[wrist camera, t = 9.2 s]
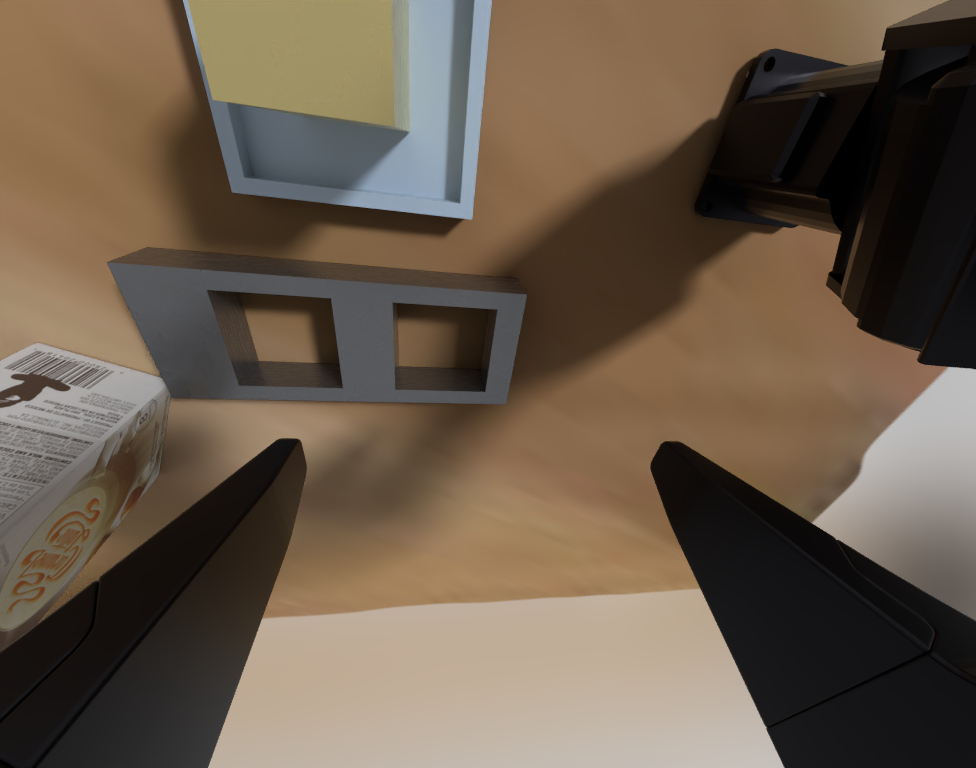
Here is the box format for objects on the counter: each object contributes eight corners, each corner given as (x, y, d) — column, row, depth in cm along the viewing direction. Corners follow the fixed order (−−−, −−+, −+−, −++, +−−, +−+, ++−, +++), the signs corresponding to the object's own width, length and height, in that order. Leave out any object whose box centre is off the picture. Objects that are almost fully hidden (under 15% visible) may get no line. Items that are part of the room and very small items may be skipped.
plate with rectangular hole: (517, 278, 19) (527, 294, 17) (499, 381, 23) (506, 404, 21) (147, 247, 16) (106, 262, 14) (197, 372, 20) (171, 397, 18)
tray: (496, -110, 12) (504, -139, 11) (469, 214, 17) (472, 219, 16) (156, -207, 10) (117, -255, 9) (247, 188, 16) (232, 192, 14)
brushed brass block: (409, 131, 15) (394, 126, 9) (302, 116, 14) (212, 100, 8) (408, -14, 12) (387, -146, 7) (280, -42, 12) (132, -216, 6)
